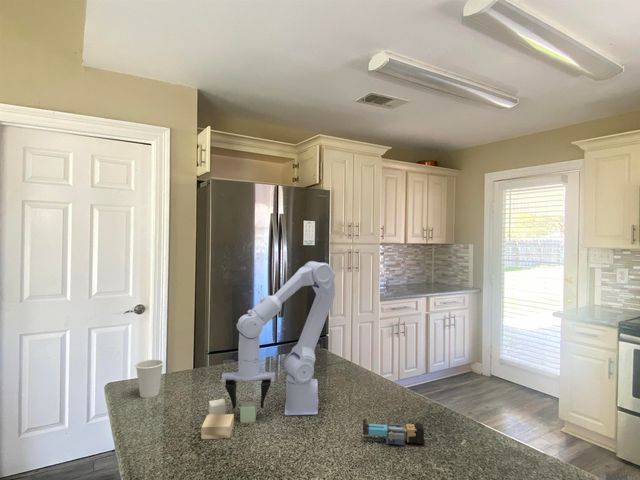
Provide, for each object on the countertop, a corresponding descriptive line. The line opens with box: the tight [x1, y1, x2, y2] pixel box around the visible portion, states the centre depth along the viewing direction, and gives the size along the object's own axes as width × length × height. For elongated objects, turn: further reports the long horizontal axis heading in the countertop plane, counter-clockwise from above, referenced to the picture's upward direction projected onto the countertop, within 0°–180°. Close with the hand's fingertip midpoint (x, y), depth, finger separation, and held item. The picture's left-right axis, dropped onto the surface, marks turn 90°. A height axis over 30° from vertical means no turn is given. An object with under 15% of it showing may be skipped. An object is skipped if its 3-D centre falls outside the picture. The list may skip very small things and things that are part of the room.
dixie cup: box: [135, 359, 165, 399], centre depth 124 cm, size 8×8×10 cm
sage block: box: [239, 401, 258, 423], centre depth 108 cm, size 4×4×4 cm
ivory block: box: [208, 398, 227, 415], centre depth 109 cm, size 4×4×4 cm
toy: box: [362, 418, 426, 447], centre depth 96 cm, size 6×4×15 cm
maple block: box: [200, 413, 235, 440], centre depth 100 cm, size 7×7×3 cm
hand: (248, 406), depth 108 cm, fingers open, 7 cm apart
